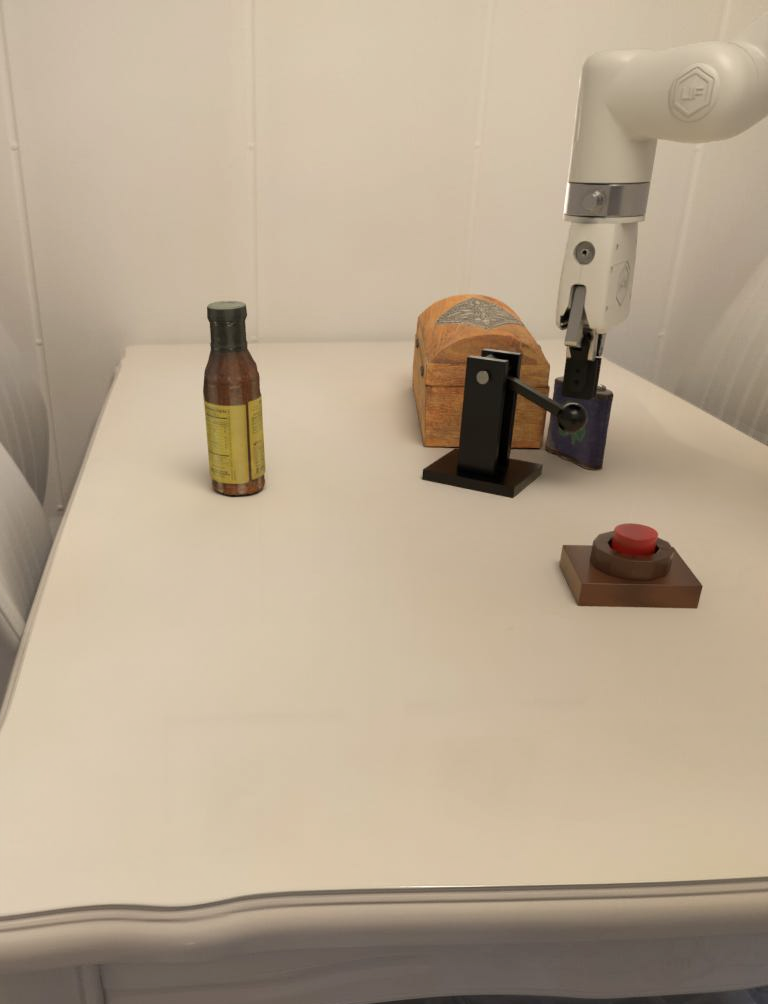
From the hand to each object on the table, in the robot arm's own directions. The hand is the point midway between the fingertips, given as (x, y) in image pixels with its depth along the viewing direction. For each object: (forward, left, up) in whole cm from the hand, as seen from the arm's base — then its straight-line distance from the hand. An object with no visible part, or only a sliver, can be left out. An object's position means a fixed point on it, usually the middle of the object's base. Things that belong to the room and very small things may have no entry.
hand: (578, 396), depth 96 cm
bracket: (+8, -5, -11) cm, 14 cm away
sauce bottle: (+36, 0, -11) cm, 38 cm away
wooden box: (+6, -30, -11) cm, 32 cm away
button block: (-1, +23, -11) cm, 26 cm away
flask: (-4, -12, -11) cm, 17 cm away
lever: (+5, -3, -2) cm, 6 cm away
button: (-1, +23, -7) cm, 24 cm away
